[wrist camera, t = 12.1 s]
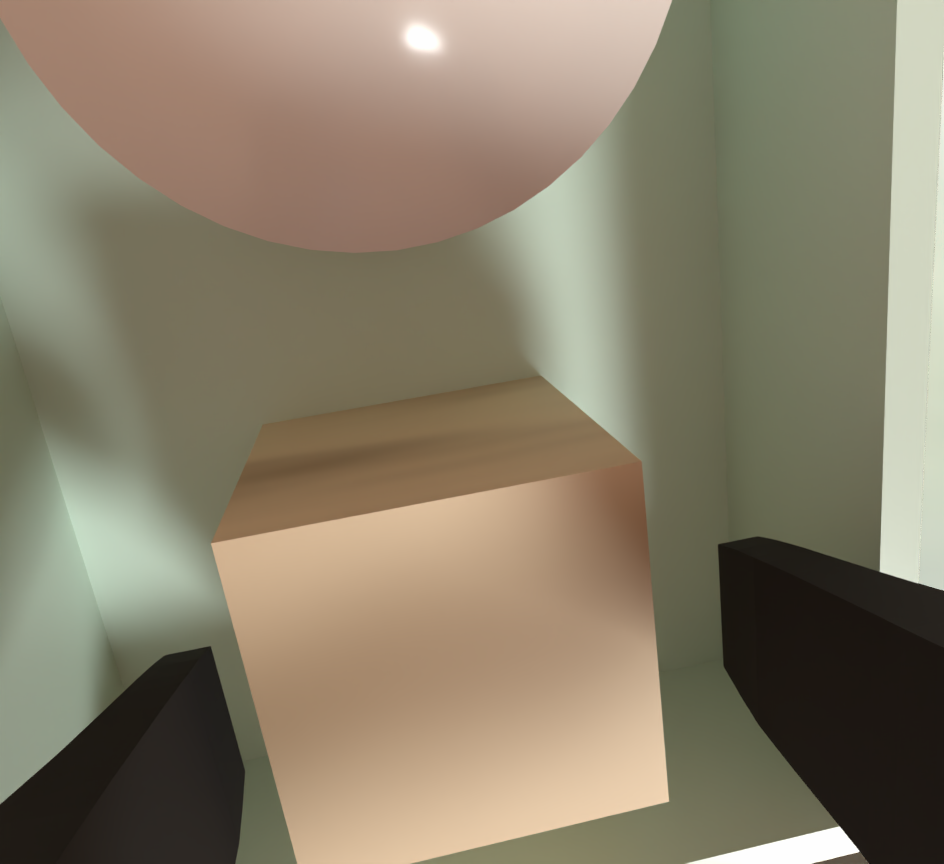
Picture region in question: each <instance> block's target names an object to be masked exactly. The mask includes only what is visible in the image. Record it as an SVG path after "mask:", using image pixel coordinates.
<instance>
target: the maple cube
mask: <svg viewBox="0 0 944 864" xmlns="http://www.w3.org/2000/svg"><path fill="white" fill-rule="evenodd" d="M211 546H212V549H213V553H214V557H215V561H216V564H217V568H218V572H219V575H220V579H221V583H222V586H223V590H224V594H225V598H226V601H227V605H228V609H229V612H230V616H231V620H232V624H233V627H234V631H235V635H236V638H237V642H238V646H239V649H240V653H241V657H242V661H243V664H244V668H245V672H246V675H247V679H248V683H249V687H250V690H251V694H252V698H253V701H254V705H255V709H256V712H257V716H258V720H259V724H260V727H261V731H262V735H263V738H264V742H265V746H266V750H267V753H268V757H269V761H270V764H271V768H272V772H273V776H274V779H275V783H276V787H277V790H278V794H279V798H280V801H281V805H282V809H283V813H284V816H285V820H286V824H287V827H288V831H289V835H290V839H291V842H292V846H293V850H294V853H295V857H296V861H297V864H411V863H415V862H420V861H424V860H428V859H432V858H436V857H440V856H445V855H449V854H453V853H457V852H461V851H465V850H470V849H474V848H478V847H482V846H486V845H490V844H495V843H499V842H503V841H507V840H511V839H515V838H520V837H524V836H528V835H532V834H536V833H540V832H545V831H549V830H553V829H557V828H561V827H565V826H570V825H574V824H578V823H582V822H586V821H590V820H595V819H599V818H603V817H607V816H611V815H615V814H620V813H624V812H628V811H632V810H636V809H640V808H645V807H649V806H653V805H657V804H661V803H665V802H669V794H668V782H667V769H666V757H665V744H664V732H663V719H662V707H661V694H660V682H659V670H658V657H657V645H656V632H655V620H654V607H653V595H652V582H651V570H650V557H649V545H648V533H647V520H646V508H645V495H644V483H643V470H642V461H641V460H640V459H638V458H637V457H636V456H635V455H634V454H633V453H631V452H630V451H629V450H628V449H627V448H626V447H624V446H623V445H622V444H621V443H620V442H619V441H617V440H616V439H615V438H614V437H613V436H611V435H610V434H609V433H608V432H607V431H606V430H604V429H603V428H602V427H601V426H600V425H599V424H597V423H596V422H595V421H594V420H593V419H592V418H590V417H589V416H588V415H587V414H586V413H585V412H583V411H582V410H581V409H580V408H579V407H578V406H576V405H575V404H574V403H573V402H572V401H570V400H569V399H568V398H567V397H566V396H565V395H563V394H562V393H561V392H560V391H559V390H558V389H556V388H555V387H554V386H553V385H552V384H551V383H549V382H548V381H547V380H546V379H545V378H544V377H542V376H536V377H530V378H525V379H519V380H513V381H507V382H502V383H496V384H490V385H485V386H479V387H473V388H468V389H462V390H456V391H451V392H445V393H439V394H434V395H428V396H422V397H417V398H411V399H405V400H399V401H394V402H388V403H382V404H377V405H371V406H365V407H360V408H354V409H348V410H343V411H337V412H331V413H326V414H320V415H314V416H308V417H303V418H297V419H291V420H286V421H280V422H274V423H269V424H263V425H262V427H261V430H260V432H259V434H258V437H257V439H256V441H255V444H254V446H253V448H252V450H251V453H250V455H249V457H248V460H247V462H246V464H245V466H244V469H243V471H242V473H241V476H240V478H239V480H238V482H237V485H236V487H235V489H234V492H233V494H232V496H231V499H230V501H229V503H228V505H227V508H226V510H225V512H224V515H223V517H222V519H221V521H220V524H219V526H218V528H217V531H216V533H215V535H214V538H213V540H212V542H211Z"/></svg>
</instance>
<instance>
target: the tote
mask: <svg viewBox="0 0 944 864" xmlns="http://www.w3.org/2000/svg"><path fill="white" fill-rule="evenodd" d="M943 61H944V0H672V2H671V5H670V8H669V10H668V13H667V16H666V18H665V21H664V24H663V27H662V29H661V32H660V35H659V37H658V40H657V43H656V46H655V48H654V49H653V51H652V53H651V55H650V57H649V59H648V61H647V63H646V65H645V67H644V69H643V71H642V73H641V75H640V77H639V79H638V81H637V83H636V85H635V87H634V88H633V90H632V91H631V93H630V94H629V96H628V97H627V99H626V100H625V102H624V103H623V105H622V106H621V108H620V109H619V111H618V112H617V114H616V115H615V117H614V118H613V120H612V121H611V123H610V124H609V126H608V127H607V128H606V129H605V130H604V131H603V132H602V134H601V135H600V136H599V137H598V138H597V139H596V141H595V142H594V143H593V144H592V145H591V146H590V148H589V149H588V150H587V151H586V152H585V153H584V155H583V156H582V157H581V158H580V159H579V160H578V161H576V162H575V163H574V164H573V165H572V166H571V167H570V168H569V169H568V170H566V171H565V172H564V173H563V174H562V175H561V176H560V177H559V178H557V179H556V180H555V181H554V182H553V183H552V184H551V185H550V186H548V187H547V188H545V189H544V190H543V191H541V192H540V193H538V194H537V195H535V196H534V197H532V198H531V199H529V200H528V201H526V202H525V203H524V204H522V205H521V206H519V207H518V208H516V209H515V210H513V211H511V212H509V213H507V214H505V215H503V216H501V217H499V218H497V219H495V220H493V221H491V222H489V223H487V224H485V225H483V226H481V227H479V228H477V229H474V230H471V231H469V232H466V233H463V234H460V235H457V236H454V237H451V238H448V239H445V240H443V241H440V242H436V243H431V244H426V245H421V246H416V247H411V248H406V249H401V250H393V251H378V252H362V253H348V252H334V251H320V250H309V249H304V248H299V247H294V246H290V245H285V244H280V243H275V242H270V241H266V240H263V239H260V238H257V237H254V236H251V235H248V234H245V233H242V232H239V231H236V230H233V229H231V228H228V227H225V226H222V225H220V224H218V223H216V222H214V221H212V220H210V219H208V218H206V217H204V216H202V215H200V214H198V213H195V212H193V211H191V210H189V209H187V208H185V207H183V206H181V205H179V204H178V203H176V202H175V201H173V200H172V199H170V198H168V197H167V196H165V195H164V194H162V193H161V192H159V191H158V190H156V189H154V188H153V187H151V186H150V185H148V184H147V183H145V182H143V181H142V180H140V179H139V178H138V177H136V176H135V175H134V174H133V173H132V172H130V171H129V170H128V169H127V168H125V167H124V166H123V165H122V164H121V163H119V162H118V161H117V160H116V159H114V158H113V157H112V156H111V155H110V154H108V153H107V152H106V151H105V150H103V149H102V148H101V147H100V146H99V145H98V144H97V143H96V142H95V141H94V140H93V139H92V138H91V137H90V136H89V135H88V134H87V133H86V132H85V131H84V130H83V129H82V128H81V127H80V126H79V125H78V124H77V123H76V122H75V121H74V120H73V119H72V117H71V116H70V115H69V114H68V113H67V112H66V111H65V110H64V109H63V108H62V107H61V106H60V104H59V103H58V102H57V101H56V99H55V98H54V97H53V95H52V94H51V93H50V92H49V90H48V89H47V88H46V86H45V85H44V84H43V83H42V81H41V80H40V79H39V77H38V76H37V75H36V73H35V72H34V71H33V70H32V68H31V67H30V66H29V64H28V63H27V61H26V60H25V58H24V56H23V55H22V53H21V52H20V50H19V48H18V47H17V45H16V43H15V42H14V40H13V38H12V37H11V35H10V34H9V32H8V30H7V29H6V27H5V25H4V24H3V22H2V20H1V19H0V804H1V803H2V802H3V801H4V800H6V799H7V798H8V797H9V796H10V795H11V794H12V793H14V792H15V791H16V790H17V789H18V788H19V787H20V786H22V785H23V784H24V783H25V782H26V781H27V780H28V779H30V778H31V777H32V776H33V775H34V774H35V773H36V772H38V771H39V770H40V769H41V768H42V767H43V766H44V765H46V764H47V763H48V762H49V761H50V760H51V759H52V758H54V757H55V756H56V755H57V754H58V753H59V752H60V751H61V750H62V749H64V748H65V747H66V746H67V745H68V744H69V743H70V742H71V741H72V740H73V739H74V738H75V737H76V736H77V735H78V734H79V733H80V732H82V731H83V730H84V729H85V728H86V727H87V726H88V725H89V724H90V723H91V722H92V721H93V720H94V719H95V718H96V717H97V716H99V715H100V714H101V713H102V712H103V711H104V710H105V709H106V708H107V707H108V706H109V705H110V704H111V703H112V702H113V701H114V700H115V699H116V698H117V697H118V696H120V695H121V694H122V693H123V692H124V691H125V690H126V689H127V688H128V687H129V686H130V685H131V684H132V683H133V682H134V681H135V680H136V679H137V678H139V677H140V676H141V675H142V674H143V673H144V672H145V671H146V670H147V669H148V668H150V667H151V666H152V665H153V664H154V663H155V662H157V661H158V660H159V659H161V658H162V657H163V656H164V655H168V654H173V653H178V652H183V651H188V650H193V649H198V648H203V647H208V646H211V649H212V652H213V656H214V660H215V663H216V667H217V670H218V674H219V678H220V681H221V685H222V689H223V692H224V696H225V699H226V703H227V707H228V710H229V714H230V718H231V721H232V725H233V729H234V732H235V736H236V739H237V743H238V747H239V750H240V754H241V758H242V761H243V765H244V768H245V781H244V795H243V809H242V820H241V831H240V841H239V848H238V853H237V858H236V863H235V864H297V861H296V857H295V853H294V850H293V846H292V842H291V839H290V835H289V831H288V827H287V824H286V820H285V816H284V813H283V809H282V805H281V801H280V798H279V794H278V790H277V787H276V783H275V779H274V776H273V772H272V768H271V764H270V761H269V757H268V753H267V750H266V746H265V742H264V738H263V735H262V731H261V727H260V724H259V720H258V716H257V712H256V709H255V705H254V701H253V698H252V694H251V690H250V687H249V683H248V679H247V675H246V672H245V668H244V664H243V661H242V657H241V653H240V649H239V646H238V642H237V638H236V635H235V631H234V627H233V624H232V620H231V616H230V612H229V609H228V605H227V601H226V598H225V594H224V590H223V586H222V583H221V579H220V575H219V572H218V568H217V564H216V561H215V557H214V553H213V549H212V546H211V542H212V540H213V538H214V535H215V533H216V531H217V528H218V526H219V524H220V521H221V519H222V517H223V515H224V512H225V510H226V508H227V505H228V503H229V501H230V499H231V496H232V494H233V492H234V489H235V487H236V485H237V482H238V480H239V478H240V476H241V473H242V471H243V469H244V466H245V464H246V462H247V460H248V457H249V455H250V453H251V450H252V448H253V446H254V444H255V441H256V439H257V437H258V434H259V432H260V430H261V427H262V425H263V424H269V423H274V422H280V421H286V420H291V419H297V418H303V417H308V416H314V415H320V414H326V413H331V412H337V411H343V410H348V409H354V408H360V407H365V406H371V405H377V404H382V403H388V402H394V401H399V400H405V399H411V398H417V397H422V396H428V395H434V394H439V393H445V392H451V391H456V390H462V389H468V388H473V387H479V386H485V385H490V384H496V383H502V382H507V381H513V380H519V379H525V378H530V377H536V376H542V377H544V378H545V379H546V380H547V381H548V382H549V383H551V384H552V385H553V386H554V387H555V388H556V389H558V390H559V391H560V392H561V393H562V394H563V395H565V396H566V397H567V398H568V399H569V400H570V401H572V402H573V403H574V404H575V405H576V406H578V407H579V408H580V409H581V410H582V411H583V412H585V413H586V414H587V415H588V416H589V417H590V418H592V419H593V420H594V421H595V422H596V423H597V424H599V425H600V426H601V427H602V428H603V429H604V430H606V431H607V432H608V433H609V434H610V435H611V436H613V437H614V438H615V439H616V440H617V441H619V442H620V443H621V444H622V445H623V446H624V447H626V448H627V449H628V450H629V451H630V452H631V453H633V454H634V455H635V456H636V457H637V458H638V459H640V460H641V461H642V470H643V483H644V495H645V508H646V520H647V533H648V545H649V557H650V570H651V582H652V595H653V607H654V620H655V632H656V645H657V657H658V670H659V682H660V694H661V707H662V719H663V732H664V744H665V757H666V769H667V782H668V794H669V802H665V803H661V804H657V805H653V806H649V807H645V808H640V809H636V810H632V811H628V812H624V813H620V814H615V815H611V816H607V817H603V818H599V819H595V820H590V821H586V822H582V823H578V824H574V825H570V826H565V827H561V828H557V829H553V830H549V831H545V832H540V833H536V834H532V835H528V836H524V837H520V838H515V839H511V840H507V841H503V842H499V843H495V844H490V845H486V846H482V847H478V848H474V849H470V850H465V851H461V852H457V853H453V854H449V855H445V856H440V857H436V858H432V859H428V860H424V861H420V862H415V863H411V864H812V863H816V862H820V861H824V860H828V859H833V858H837V857H841V856H845V855H849V854H853V853H857V852H860V851H859V850H858V849H857V847H856V846H855V845H854V844H853V842H852V841H851V840H850V839H849V838H848V836H847V835H846V834H845V833H844V831H843V830H842V829H841V828H840V826H839V825H838V824H837V823H836V821H835V820H834V819H833V818H832V816H831V815H830V814H829V813H828V812H827V810H826V809H825V808H824V807H823V805H822V804H821V803H820V802H819V800H818V799H817V798H816V797H815V795H814V794H813V793H812V792H811V790H810V789H809V788H808V787H807V786H806V784H805V783H804V782H803V781H802V779H801V778H800V777H799V776H798V774H797V773H796V772H795V771H794V769H793V768H792V767H791V766H790V764H789V763H788V762H787V761H786V759H785V758H784V757H783V756H782V754H781V753H780V752H779V751H778V749H777V748H776V747H775V745H774V744H773V743H772V742H771V740H770V739H769V738H768V737H767V735H766V734H765V733H764V731H763V730H762V729H761V727H760V726H759V725H758V723H757V722H756V720H755V718H754V717H753V715H752V714H751V712H750V710H749V709H748V707H747V706H746V704H745V702H744V701H743V699H742V697H741V696H740V694H739V692H738V691H737V689H736V687H735V685H734V684H733V682H732V680H731V678H730V677H729V675H728V673H727V672H726V670H725V668H724V666H723V645H722V624H721V602H720V581H719V559H718V544H721V543H726V542H731V541H736V540H741V539H746V538H751V537H756V536H759V537H765V538H770V539H774V540H778V541H782V542H786V543H789V544H793V545H796V546H800V547H803V548H806V549H810V550H813V551H816V552H819V553H822V554H825V555H829V556H832V557H835V558H838V559H841V560H844V561H847V562H851V563H854V564H857V565H860V566H863V567H866V568H869V569H873V570H876V571H879V572H882V573H885V574H889V575H892V576H895V577H898V578H902V579H905V580H908V581H912V582H915V583H919V564H920V543H921V522H922V501H923V480H924V459H925V438H926V417H927V396H928V375H929V354H930V333H931V312H932V292H933V271H934V250H935V229H936V208H937V187H938V166H939V145H940V124H941V103H942V82H943Z"/></svg>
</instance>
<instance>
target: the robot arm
mask: <svg viewBox="0 0 944 864" xmlns="http://www.w3.org/2000/svg"><path fill="white" fill-rule="evenodd" d="M718 559H719V581H720V602H721V624H722V645H723V666H724V668H725V670H726V672H727V673H728V675H729V677H730V678H731V680H732V682H733V684H734V685H735V687H736V689H737V691H738V692H739V694H740V696H741V697H742V699H743V701H744V702H745V704H746V706H747V707H748V709H749V710H750V712H751V714H752V715H753V717H754V718H755V720H756V722H757V723H758V725H759V726H760V727H761V729H762V730H763V731H764V733H765V734H766V735H767V737H768V738H769V739H770V740H771V742H772V743H773V744H774V745H775V747H776V748H777V749H778V751H779V752H780V753H781V754H782V756H783V757H784V758H785V759H786V761H787V762H788V763H789V764H790V766H791V767H792V768H793V769H794V771H795V772H796V773H797V774H798V776H799V777H800V778H801V779H802V781H803V782H804V783H805V784H806V786H807V787H808V788H809V789H810V790H811V792H812V793H813V794H814V795H815V797H816V798H817V799H818V800H819V802H820V803H821V804H822V805H823V807H824V808H825V809H826V810H827V812H828V813H829V814H830V815H831V816H832V818H833V819H834V820H835V821H836V823H837V824H838V825H839V826H840V828H841V829H842V830H843V831H844V833H845V834H846V835H847V836H848V838H849V839H850V840H851V841H852V842H853V844H854V845H855V846H856V847H857V849H858V850H859V851H860V852H861V854H862V855H863V856H864V857H865V859H866V860H867V861H868V862H869V864H944V591H943V590H939V589H936V588H932V587H929V586H925V585H922V584H919V583H915V582H912V581H908V580H905V579H902V578H898V577H895V576H892V575H889V574H885V573H882V572H879V571H876V570H873V569H869V568H866V567H863V566H860V565H857V564H854V563H851V562H847V561H844V560H841V559H838V558H835V557H832V556H829V555H825V554H822V553H819V552H816V551H813V550H810V549H806V548H803V547H800V546H796V545H793V544H789V543H786V542H782V541H778V540H774V539H770V538H765V537H759V536H756V537H751V538H746V539H741V540H736V541H731V542H726V543H721V544H718ZM244 781H245V768H244V765H243V761H242V758H241V754H240V750H239V747H238V743H237V739H236V736H235V732H234V729H233V725H232V721H231V718H230V714H229V710H228V707H227V703H226V699H225V696H224V692H223V689H222V685H221V681H220V678H219V674H218V670H217V667H216V663H215V660H214V656H213V652H212V649H211V646H208V647H203V648H198V649H193V650H188V651H183V652H178V653H173V654H168V655H164V656H163V657H162V658H161V659H159V660H158V661H157V662H155V663H154V664H153V665H152V666H151V667H150V668H148V669H147V670H146V671H145V672H144V673H143V674H142V675H141V676H140V677H139V678H137V679H136V680H135V681H134V682H133V683H132V684H131V685H130V686H129V687H128V688H127V689H126V690H125V691H124V692H123V693H122V694H121V695H120V696H118V697H117V698H116V699H115V700H114V701H113V702H112V703H111V704H110V705H109V706H108V707H107V708H106V709H105V710H104V711H103V712H102V713H101V714H100V715H99V716H97V717H96V718H95V719H94V720H93V721H92V722H91V723H90V724H89V725H88V726H87V727H86V728H85V729H84V730H83V731H82V732H80V733H79V734H78V735H77V736H76V737H75V738H74V739H73V740H72V741H71V742H70V743H69V744H68V745H67V746H66V747H65V748H64V749H62V750H61V751H60V752H59V753H58V754H57V755H56V756H55V757H54V758H52V759H51V760H50V761H49V762H48V763H47V764H46V765H44V766H43V767H42V768H41V769H40V770H39V771H38V772H36V773H35V774H34V775H33V776H32V777H31V778H30V779H28V780H27V781H26V782H25V783H24V784H23V785H22V786H20V787H19V788H18V789H17V790H16V791H15V792H14V793H12V794H11V795H10V796H9V797H8V798H7V799H6V800H4V801H3V802H2V803H1V804H0V864H235V863H236V858H237V853H238V848H239V841H240V831H241V820H242V809H243V795H244Z"/></svg>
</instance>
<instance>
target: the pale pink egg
mask: <svg viewBox="0 0 944 864" xmlns="http://www.w3.org/2000/svg"><path fill="white" fill-rule="evenodd" d="M671 2H672V0H0V19H1V20H2V22H3V24H4V25H5V27H6V29H7V30H8V32H9V34H10V35H11V37H12V38H13V40H14V42H15V43H16V45H17V47H18V48H19V50H20V52H21V53H22V55H23V56H24V58H25V60H26V61H27V63H28V64H29V66H30V67H31V68H32V70H33V71H34V72H35V73H36V75H37V76H38V77H39V79H40V80H41V81H42V83H43V84H44V85H45V86H46V88H47V89H48V90H49V92H50V93H51V94H52V95H53V97H54V98H55V99H56V101H57V102H58V103H59V104H60V106H61V107H62V108H63V109H64V110H65V111H66V112H67V113H68V114H69V115H70V116H71V117H72V119H73V120H74V121H75V122H76V123H77V124H78V125H79V126H80V127H81V128H82V129H83V130H84V131H85V132H86V133H87V134H88V135H89V136H90V137H91V138H92V139H93V140H94V141H95V142H96V143H97V144H98V145H99V146H100V147H101V148H102V149H103V150H105V151H106V152H107V153H108V154H110V155H111V156H112V157H113V158H114V159H116V160H117V161H118V162H119V163H121V164H122V165H123V166H124V167H125V168H127V169H128V170H129V171H130V172H132V173H133V174H134V175H135V176H136V177H138V178H139V179H140V180H142V181H143V182H145V183H147V184H148V185H150V186H151V187H153V188H154V189H156V190H158V191H159V192H161V193H162V194H164V195H165V196H167V197H168V198H170V199H172V200H173V201H175V202H176V203H178V204H179V205H181V206H183V207H185V208H187V209H189V210H191V211H193V212H195V213H198V214H200V215H202V216H204V217H206V218H208V219H210V220H212V221H214V222H216V223H218V224H220V225H222V226H225V227H228V228H231V229H233V230H236V231H239V232H242V233H245V234H248V235H251V236H254V237H257V238H260V239H263V240H266V241H270V242H275V243H280V244H285V245H290V246H294V247H299V248H304V249H309V250H320V251H334V252H348V253H362V252H378V251H393V250H401V249H406V248H411V247H416V246H421V245H426V244H431V243H436V242H440V241H443V240H445V239H448V238H451V237H454V236H457V235H460V234H463V233H466V232H469V231H471V230H474V229H477V228H479V227H481V226H483V225H485V224H487V223H489V222H491V221H493V220H495V219H497V218H499V217H501V216H503V215H505V214H507V213H509V212H511V211H513V210H515V209H516V208H518V207H519V206H521V205H522V204H524V203H525V202H526V201H528V200H529V199H531V198H532V197H534V196H535V195H537V194H538V193H540V192H541V191H543V190H544V189H545V188H547V187H548V186H550V185H551V184H552V183H553V182H554V181H555V180H556V179H557V178H559V177H560V176H561V175H562V174H563V173H564V172H565V171H566V170H568V169H569V168H570V167H571V166H572V165H573V164H574V163H575V162H576V161H578V160H579V159H580V158H581V157H582V156H583V155H584V153H585V152H586V151H587V150H588V149H589V148H590V146H591V145H592V144H593V143H594V142H595V141H596V139H597V138H598V137H599V136H600V135H601V134H602V132H603V131H604V130H605V129H606V128H607V127H608V126H609V124H610V123H611V121H612V120H613V118H614V117H615V115H616V114H617V112H618V111H619V109H620V108H621V106H622V105H623V103H624V102H625V100H626V99H627V97H628V96H629V94H630V93H631V91H632V90H633V88H634V87H635V85H636V83H637V81H638V79H639V77H640V75H641V73H642V71H643V69H644V67H645V65H646V63H647V61H648V59H649V57H650V55H651V53H652V51H653V49H654V48H655V46H656V43H657V40H658V37H659V35H660V32H661V29H662V27H663V24H664V21H665V18H666V16H667V13H668V10H669V8H670V5H671Z"/></svg>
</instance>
